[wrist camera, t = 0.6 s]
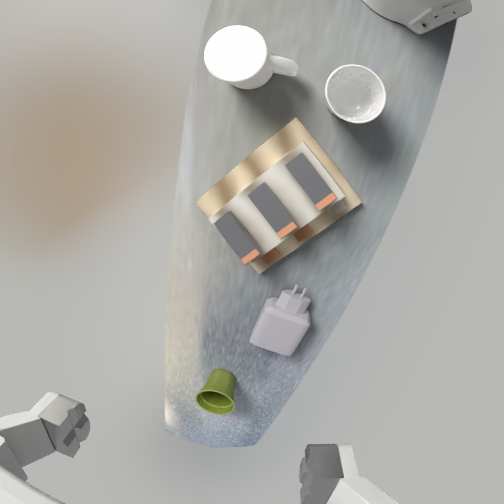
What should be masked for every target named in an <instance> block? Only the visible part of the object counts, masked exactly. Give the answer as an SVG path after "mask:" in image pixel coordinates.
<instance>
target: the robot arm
mask: <svg viewBox="0 0 504 504" xmlns="http://www.w3.org/2000/svg"><path fill="white" fill-rule="evenodd" d="M363 1H364V2H365V3H366V4H367V5H368V6H369V7H370V8H371V9H372V10H374V11H375V12H376V13H378V14H379V15H381V16H383V17H385V18H387V19H389V20H392V21H395V22H398V23H401V24H403V25H405V26H406V27H408V28H409V29H410V30H412V31H413V32H415V33H417V34H420V35H421V34H424V33H426V32H428V31H430V30H432V29H435V28H437V27H439V26H441V25H443V24H445V23H448V22H450V21H452V20H454V19H457V18H459V17H461V16H463V15H466V14H468V13H470V12H471V10H472V7H471V1H470V0H363ZM422 24H424V25H425V27H424V26H423V25H422ZM85 411H86V409H85V406H84V404H82V403H80V402H78V401H75V400H73V399H70V398H68V397H66V396H63V395H61V394H58V393H56V392H54V391H50V392H48V393H47V394H46V395H45V396H44V397H43V398H42V399H41V400H40V401H39V402H38V403H37V404H36V405H35V406H34V407H33V408H32V409H31V410H30V411H29V412H28V411H23V412H20V413H16V414H12V415H8V416H5V417H0V504H65V503H63V502H61V501H59V500H57V499H55V498H53V497H51V496H50V495H48V494H45V493H44V492H42V491H41V490H39V489H37V488H35V487H34V486H32V485H30V484H29V483H27V482H26V480H27V479H28V478H27V475H26V474H25V472H24V470H23V469H22V467H24V466H26V465H28V464H30V463H32V462H34V461H36V460H38V459H41V458H43V457H45V456H47V455H49V454H51V453H53V452H55V450H56V451H59V452H60V453H63V454H65V455H67V456H70V457H72V458H73V457H74V455H75V454H76V452H77V451H78V450H79V448H80V443H79V442H81V441H84V440H85V439H86V438H87V436H88V434H89V431H90V423H89V419H88V418H87V417H86V415H85V414H84V413H85ZM299 477H300V482H301V483H302V484H303V485H302V488H301V490H300V494H301V504H399V503H397V502H396V501H395V500H393V499H392V498H390V497H389V496H388V495H387V494H385V493H384V492H383V491H382V490H380V489H379V488H378V487H377V486H375V485H374V484H373V483H371V482H370V481H369V480H368V479H366V478H365V477H360V475H359V470H358V467H357V463H356V459H355V455H354V451H353V448H352V445H351V444H308V445H307V447H306V449H305V457H304V458H303V459H302V461H301V465H300V473H299Z"/></svg>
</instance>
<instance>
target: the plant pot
mask: <svg viewBox="0 0 504 504" xmlns="http://www.w3.org/2000/svg"><path fill="white" fill-rule="evenodd" d="M234 387H235V377H234V375H233V374H232V373H230V372H227V371H225V370H222V369H218V370H214V371H213V372H212V373H211V375H210V377H209V378H208V380H207V382H206V384H205V385H204V387H203V388H202V389H201V390H200V391H199V392H198V393H197V394H196V396H195V400H196V403H197V404H198V405H199V406H200V407H201V408H202V409H204V410H206V411H208V412H210V413H214V414H221V415H223V414H229V413H231V412H232V411H233V410H234V409H235V403H234V398H233V397H234Z"/></svg>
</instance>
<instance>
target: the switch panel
mask: <svg viewBox="0 0 504 504" xmlns="http://www.w3.org/2000/svg"><path fill="white" fill-rule="evenodd" d="M301 152H302V153H303V154H304V155H305V156H306V157H307V159H308V160H309V161H310V163H311V164H312V165H313V166H314V168H315V169H316V170H317V171H318V173H319V174H320V175H321V177H322V178H323V179H324V181H325V182H326V183H327V185H328V186H329V187H330V189H331V190H332V191H333V193H334V194H335V195H336V197H337V199H336V200H335V201H333V202H332V203H331V204H329V205H328V206H327V207H325V208H324V209H322V210H321V211H319V209H318V208H317V207H316V205H315V204H314V203H313V201H312V200H311V199H310V197H309V196H308V195H307V193H306V192H305V191H304V189H303V188H302V187H301V186H300V184H299V183H298V182H297V180H296V179H295V178H294V177H293V175H292V174H291V173H290V171H289V170H288V169H287V168H286V166H285V165H286V164H287V163H288V162H290V161H291V160H292V159H294V158H295V157H296V156H297V155H299V154H300V153H301ZM264 182H265V183H266V184H267V185H268V186H269V188H270V189H271V190H272V191H273V193H274V194H275V195H276V197H277V198H278V199H279V200H280V202H281V203H282V204H283V206H284V207H285V208H286V209H287V211H288V212H289V213H290V215H291V216H292V217H293V219H294V220H295V221H296V223H297V224H298V225H299V226H298V228H296V229H295V230H293V231H292V232H291V233H289V234H288V235H287V236H285V237H284V238H282V239H280V238H279V236H278V235H277V234H276V232H275V231H274V229H273V228H272V227H271V225H270V224H269V223H268V222H267V220H266V219H265V218H264V216H263V215H262V214H261V213H260V211H259V210H258V209H257V207H256V206H255V205H254V204H253V202H252V201H251V200H250V198H249V197H248V196H247V195H248V194H250V193H251V192H252V191H253V190H255V189H256V188H257V187H258V186H260V185H261V184H262V183H264ZM360 203H362V201H361V200H360V198H359V197H358V196H357V194H356V193H355V191H354V190H353V189H352V187H351V186H350V185H349V183H348V182H347V180H346V179H345V178H344V176H343V175H342V174H341V172H340V171H339V170H338V168H337V167H336V166H335V165H334V163H333V162H332V161H331V159H330V158H329V157H328V156H327V154H326V153H325V152H324V150H323V149H322V148H321V147H320V145H319V144H318V143H317V142H316V140H315V139H314V138H313V137H312V136H311V134H310V133H309V132H308V131H307V130H306V128H305V127H304V126H303V125H302V124H301V122H300V121H299V120H298V119H297V118H295V119H293V120H292V121H291V122H289V123H288V124H287V125H286V126H284V127H283V128H282V129H281V130H279V131H278V132H277V133H276V134H274V135H273V136H272V137H271V138H270V139H268V140H267V141H266V142H265V143H263V144H262V145H261V146H260V147H259V148H257V149H256V150H255V151H254V152H253V153H251V154H250V155H249V156H248V157H247V158H245V159H244V160H243V161H242V162H241V163H240V164H238V165H237V166H236V167H235V168H234V169H233V170H231V171H230V172H229V173H228V174H227V175H226V176H225V177H223V178H222V179H221V180H220V181H219V182H218V183H217V184H215V185H214V186H213V187H212V188H211V189H210V190H209V191H208V192H207V193H205V194H204V195H203V196H202V197H201V198H200V199H199V200H198V201H197V202H196V203H195V204H196V205H197V206H198V207H199V208H200V209H201V210H202V211H203V213H204V214H205V215H206V216H207V217H208V218H209V220H210V222H211V223H212V224H213V223H215V222H216V221H217V220H218V219H219V218H221V217H222V216H223V215H224V214H225V213H227V212H228V211H230V210H231V212H232V213H233V214H234V216H235V217H236V218H237V219H238V221H239V222H240V223H241V225H242V226H243V227H244V228H245V230H246V231H247V232H248V234H249V235H250V236H251V237H252V239H253V240H254V241H255V243H256V244H257V245H258V246H259V248H260V249H261V250H262V253H261V254H260V255H259V256H257V257H256V258H255V259H253V260H252V261H250V262H249V265H250V264H251V266H252V267H253V268H254V269H255V270H256V271H257V272H258V273H259V274H261V273H262V272H263V271H265V270H266V269H268V268H269V267H271V266H272V265H274V264H275V263H277V262H278V261H279V260H281V259H282V258H284V257H285V256H287V255H288V254H290V253H291V252H292V251H294V250H295V249H297V248H298V247H300V246H301V245H302V244H304V243H305V242H307V241H308V240H310V239H311V238H312V237H314V236H315V235H317V234H318V233H320V232H321V231H322V230H324V229H325V228H327V227H328V226H329V225H331V224H332V223H334V222H335V221H337V220H338V219H339V218H341V217H342V216H344V215H345V214H346V213H348V212H349V211H351V210H352V209H353V208H355V207H356V206H358V205H359V204H360ZM213 225H214V224H213ZM214 226H215V225H214Z"/></svg>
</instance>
